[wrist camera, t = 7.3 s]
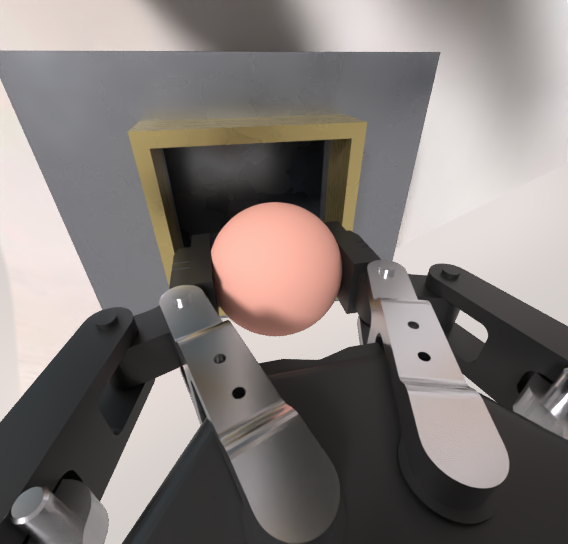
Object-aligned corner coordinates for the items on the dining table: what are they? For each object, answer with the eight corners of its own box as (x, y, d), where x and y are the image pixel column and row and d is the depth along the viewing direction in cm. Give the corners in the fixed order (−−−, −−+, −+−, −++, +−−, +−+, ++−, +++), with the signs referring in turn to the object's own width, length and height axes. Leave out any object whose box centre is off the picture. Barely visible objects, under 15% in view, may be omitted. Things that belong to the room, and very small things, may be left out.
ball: (321, 179, 13) (377, 232, 9) (315, 277, 16) (355, 351, 12) (198, 188, 12) (197, 252, 8) (214, 291, 15) (220, 377, 11)
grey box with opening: (358, 56, 21) (480, 50, 12) (338, 236, 29) (403, 316, 20) (73, 56, 18) (-62, 47, 9) (137, 258, 26) (102, 367, 17)
